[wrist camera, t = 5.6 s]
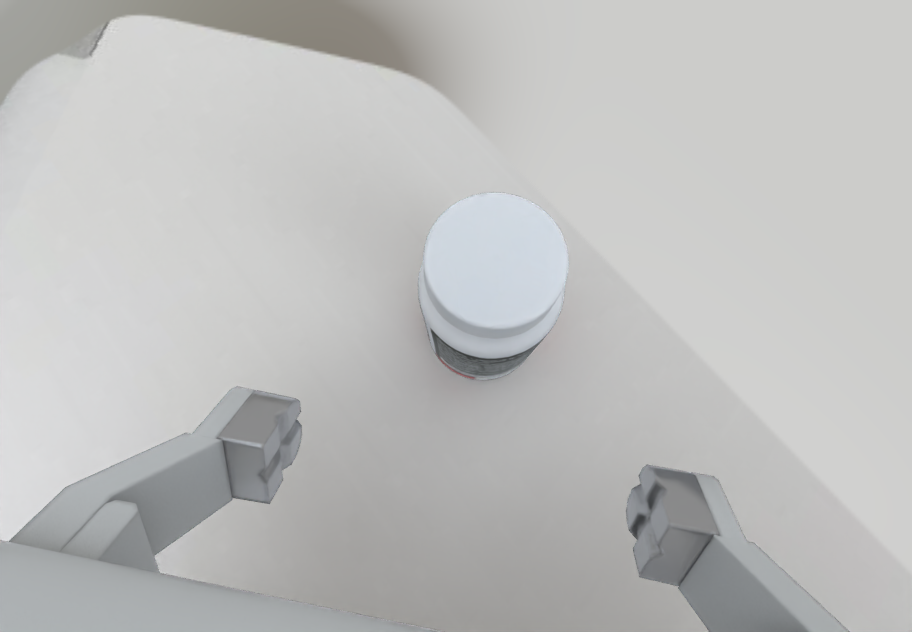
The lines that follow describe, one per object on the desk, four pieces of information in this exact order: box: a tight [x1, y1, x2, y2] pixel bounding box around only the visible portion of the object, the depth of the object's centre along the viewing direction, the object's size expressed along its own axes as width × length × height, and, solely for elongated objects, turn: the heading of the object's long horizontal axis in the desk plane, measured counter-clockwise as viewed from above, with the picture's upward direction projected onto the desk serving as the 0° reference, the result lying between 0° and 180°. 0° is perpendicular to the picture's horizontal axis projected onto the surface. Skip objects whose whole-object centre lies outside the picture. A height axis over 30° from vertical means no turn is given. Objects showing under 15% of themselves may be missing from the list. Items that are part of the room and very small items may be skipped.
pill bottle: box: [418, 192, 569, 380], centre depth 17 cm, size 5×5×8 cm
